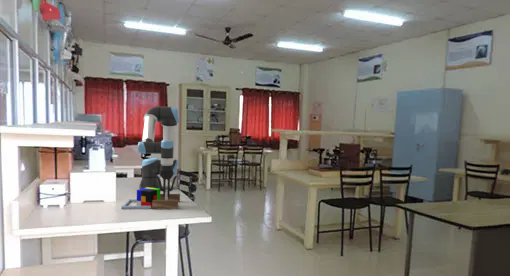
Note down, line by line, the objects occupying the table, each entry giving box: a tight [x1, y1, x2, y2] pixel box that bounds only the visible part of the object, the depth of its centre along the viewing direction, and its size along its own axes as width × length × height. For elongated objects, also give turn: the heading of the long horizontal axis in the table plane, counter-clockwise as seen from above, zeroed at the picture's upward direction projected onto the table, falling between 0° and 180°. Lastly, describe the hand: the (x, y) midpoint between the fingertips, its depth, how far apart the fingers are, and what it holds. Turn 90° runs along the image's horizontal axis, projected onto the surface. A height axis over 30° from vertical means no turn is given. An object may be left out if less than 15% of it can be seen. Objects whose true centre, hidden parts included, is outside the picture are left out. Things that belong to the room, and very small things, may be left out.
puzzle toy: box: [136, 187, 161, 209], centre depth 202 cm, size 10×10×10 cm
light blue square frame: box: [121, 198, 152, 210], centre depth 202 cm, size 18×17×2 cm
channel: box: [151, 193, 181, 210], centre depth 204 cm, size 18×15×5 cm
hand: (166, 201), depth 204 cm, fingers closed
